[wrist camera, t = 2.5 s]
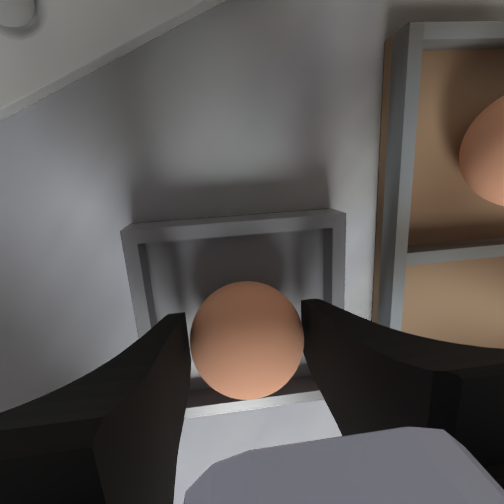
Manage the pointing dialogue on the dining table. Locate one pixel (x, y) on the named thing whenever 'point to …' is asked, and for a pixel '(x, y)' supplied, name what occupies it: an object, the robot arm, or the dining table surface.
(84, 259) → the dining table surface
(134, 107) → the dining table surface
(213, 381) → the terracotta ball
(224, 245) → the shallow grey square tray
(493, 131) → the ball
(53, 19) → the test tube rack
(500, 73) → the pair tray
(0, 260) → the dining table surface
